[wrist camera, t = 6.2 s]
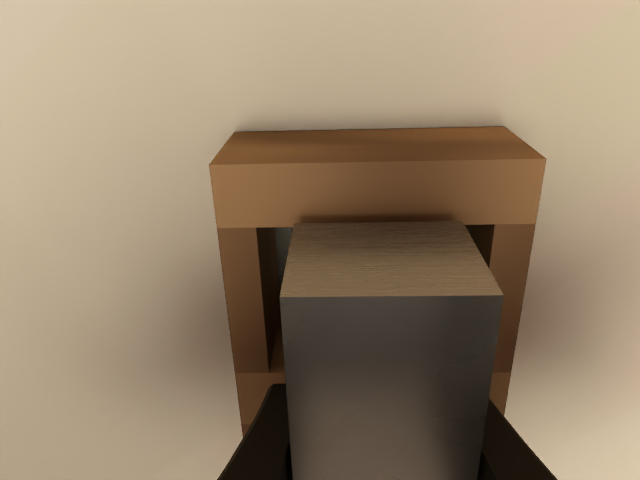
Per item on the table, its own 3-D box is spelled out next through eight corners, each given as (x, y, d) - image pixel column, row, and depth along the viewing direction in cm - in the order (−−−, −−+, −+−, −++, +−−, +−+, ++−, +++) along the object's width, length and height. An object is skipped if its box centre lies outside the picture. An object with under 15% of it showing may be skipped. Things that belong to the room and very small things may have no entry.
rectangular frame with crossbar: (268, 477, 16) (257, 554, 14) (234, 132, 12) (208, 165, 9) (460, 478, 16) (480, 557, 14) (504, 126, 11) (546, 158, 9)
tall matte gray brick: (316, 453, 16) (306, 663, 11) (303, 172, 12) (280, 297, 7) (414, 453, 16) (450, 665, 11) (433, 169, 12) (504, 295, 7)
